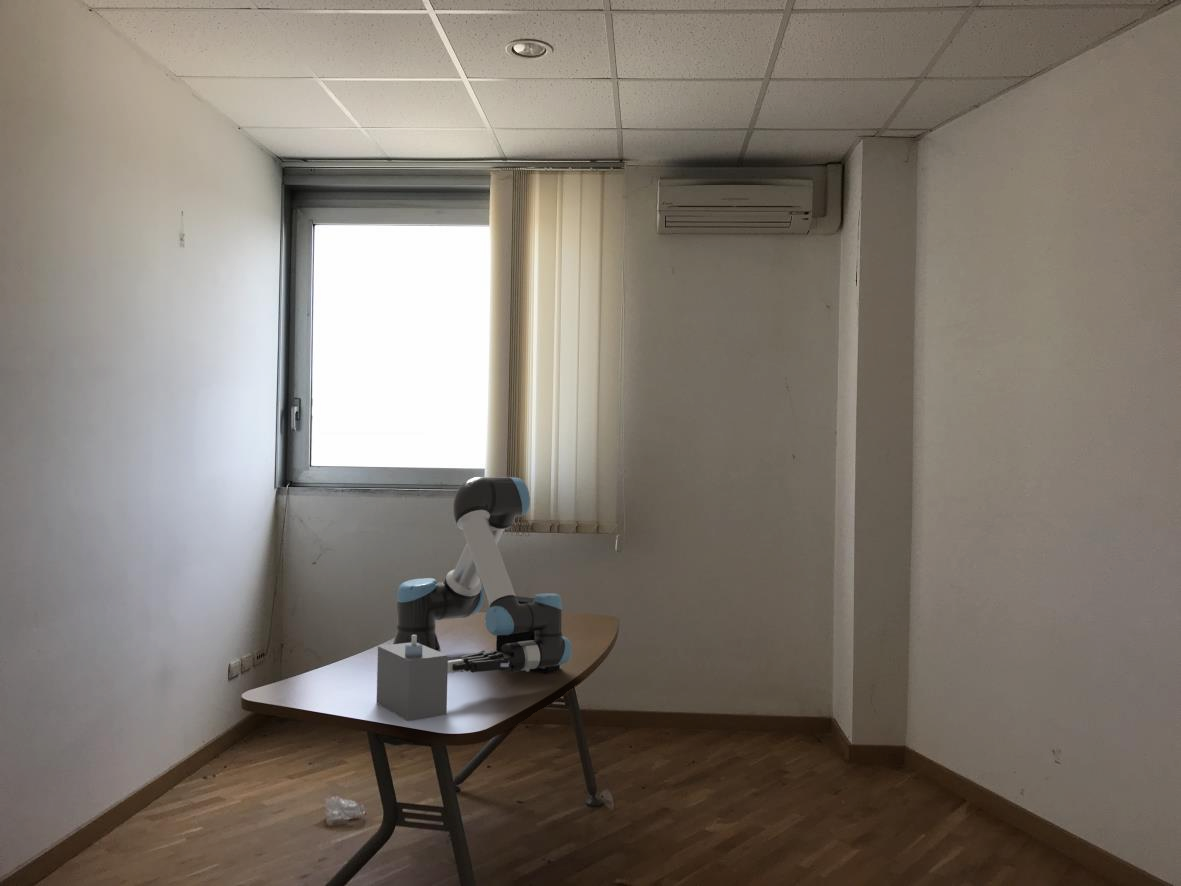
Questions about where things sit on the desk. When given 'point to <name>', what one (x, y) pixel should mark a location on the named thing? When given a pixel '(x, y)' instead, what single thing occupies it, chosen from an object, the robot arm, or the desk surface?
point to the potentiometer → (413, 648)
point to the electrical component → (523, 637)
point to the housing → (412, 682)
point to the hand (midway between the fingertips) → (439, 668)
